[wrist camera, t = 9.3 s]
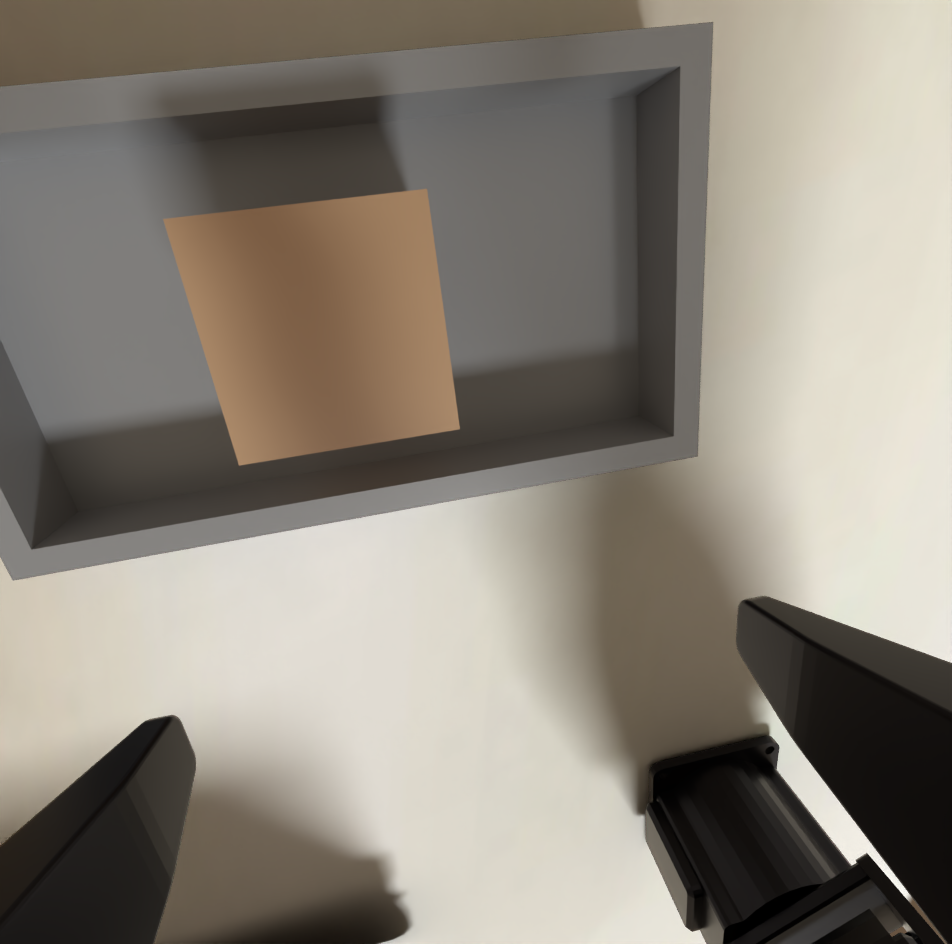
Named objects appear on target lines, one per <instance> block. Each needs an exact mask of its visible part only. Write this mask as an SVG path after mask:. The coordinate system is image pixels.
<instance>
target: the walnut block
mask: <svg viewBox="0 0 952 944" xmlns="http://www.w3.org/2000/svg"><path fill="white" fill-rule="evenodd" d="M163 220H164V224H165V227H166V230H167V233H168V237H169V240H170V243H171V246H172V250H173V253H174V256H175V259H176V263H177V266H178V269H179V272H180V275H181V279H182V282H183V285H184V288H185V292H186V295H187V298H188V301H189V305H190V308H191V311H192V314H193V318H194V321H195V324H196V327H197V331H198V334H199V337H200V340H201V344H202V347H203V350H204V353H205V357H206V360H207V363H208V366H209V370H210V373H211V376H212V379H213V383H214V386H215V389H216V392H217V396H218V399H219V402H220V405H221V409H222V412H223V415H224V418H225V422H226V425H227V428H228V431H229V435H230V438H231V441H232V444H233V448H234V451H235V454H236V457H237V460H238V464H239V466H240V465H246V464H252V463H258V462H264V461H270V460H276V459H282V458H288V457H294V456H300V455H306V454H313V453H319V452H325V451H331V450H337V449H343V448H349V447H355V446H361V445H367V444H373V443H380V442H386V441H392V440H398V439H404V438H410V437H416V436H422V435H428V434H434V433H440V432H446V431H453V430H459V429H460V425H459V418H458V411H457V404H456V396H455V389H454V382H453V374H452V367H451V360H450V352H449V345H448V338H447V331H446V323H445V316H444V309H443V301H442V294H441V287H440V280H439V272H438V265H437V258H436V250H435V243H434V236H433V228H432V221H431V214H430V207H429V199H428V192H427V189H420V190H411V191H403V192H394V193H385V194H377V195H368V196H359V197H351V198H342V199H333V200H324V201H316V202H307V203H298V204H290V205H281V206H272V207H264V208H255V209H246V210H237V211H229V212H220V213H211V214H203V215H194V216H185V217H176V218H168V219H163Z"/></svg>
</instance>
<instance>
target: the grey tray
mask: <svg viewBox="0 0 952 944" xmlns="http://www.w3.org/2000/svg"><path fill="white" fill-rule="evenodd" d="M712 38H713V22H709V23H698V24H687V25H676V26H665V27H654V28H643V29H632V30H621V31H610V32H598V33H587V34H576V35H565V36H554V37H543V38H532V39H521V40H510V41H499V42H488V43H477V44H466V45H455V46H444V47H433V48H422V49H411V50H399V51H388V52H377V53H366V54H355V55H344V56H333V57H322V58H311V59H300V60H289V61H278V62H267V63H256V64H245V65H234V66H223V67H212V68H201V69H189V70H178V71H167V72H156V73H145V74H134V75H123V76H112V77H101V78H90V79H79V80H68V81H57V82H46V83H35V84H24V85H13V86H2V87H0V557H1V559H2V561H3V563H4V565H5V567H6V569H7V571H8V572H9V574H10V576H11V578H12V580H19V579H24V578H30V577H35V576H41V575H46V574H52V573H57V572H63V571H68V570H74V569H79V568H85V567H90V566H96V565H101V564H107V563H112V562H118V561H123V560H129V559H134V558H140V557H146V556H151V555H157V554H162V553H168V552H173V551H179V550H184V549H190V548H195V547H201V546H206V545H212V544H217V543H223V542H228V541H234V540H239V539H245V538H250V537H256V536H261V535H267V534H272V533H278V532H283V531H289V530H294V529H300V528H305V527H311V526H316V525H322V524H328V523H333V522H339V521H344V520H350V519H355V518H361V517H366V516H372V515H377V514H383V513H388V512H394V511H399V510H405V509H410V508H416V507H421V506H427V505H432V504H438V503H443V502H449V501H454V500H460V499H465V498H471V497H476V496H482V495H487V494H493V493H498V492H504V491H510V490H515V489H521V488H526V487H532V486H537V485H543V484H548V483H554V482H559V481H565V480H570V479H576V478H581V477H587V476H592V475H598V474H603V473H609V472H614V471H620V470H625V469H631V468H636V467H642V466H647V465H653V464H658V463H664V462H669V461H675V460H680V459H686V458H692V457H697V456H698V430H699V402H700V374H701V346H702V318H703V290H704V262H705V234H706V206H707V178H708V150H709V122H710V94H711V66H712ZM420 189H427V192H428V199H429V207H430V214H431V221H432V228H433V236H434V243H435V250H436V258H437V265H438V272H439V280H440V287H441V294H442V301H443V309H444V316H445V323H446V331H447V338H448V345H449V352H450V360H451V367H452V374H453V382H454V389H455V396H456V404H457V411H458V418H459V425H460V429H459V430H453V431H446V432H440V433H434V434H428V435H422V436H416V437H410V438H404V439H398V440H392V441H386V442H380V443H373V444H367V445H361V446H355V447H349V448H343V449H337V450H331V451H325V452H319V453H313V454H306V455H300V456H294V457H288V458H282V459H276V460H270V461H264V462H258V463H252V464H246V465H240V466H239V464H238V460H237V457H236V454H235V451H234V448H233V444H232V441H231V438H230V435H229V431H228V428H227V425H226V422H225V418H224V415H223V412H222V409H221V405H220V402H219V399H218V396H217V392H216V389H215V386H214V383H213V379H212V376H211V373H210V370H209V366H208V363H207V360H206V357H205V353H204V350H203V347H202V344H201V340H200V337H199V334H198V331H197V327H196V324H195V321H194V318H193V314H192V311H191V308H190V305H189V301H188V298H187V295H186V292H185V288H184V285H183V282H182V279H181V275H180V272H179V269H178V266H177V263H176V259H175V256H174V253H173V250H172V246H171V243H170V240H169V237H168V233H167V230H166V227H165V224H164V220H163V219H168V218H176V217H185V216H194V215H203V214H211V213H220V212H229V211H237V210H246V209H255V208H264V207H272V206H281V205H290V204H298V203H307V202H316V201H324V200H333V199H342V198H351V197H359V196H368V195H377V194H385V193H394V192H403V191H411V190H420Z"/></svg>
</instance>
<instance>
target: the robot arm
mask: <svg viewBox="0 0 952 944" xmlns="http://www.w3.org/2000/svg"><path fill="white" fill-rule="evenodd" d="M736 644H737V649H738V651H739V654H740V656H741V658H742V659H743V661H744V662H745V664H746V666H747V667H748V669H749V670H750V672H751V674H752V675H753V677H754V679H755V680H756V682H757V683H758V685H759V687H760V688H761V690H762V691H763V693H764V695H765V696H766V698H767V700H768V701H769V703H770V704H771V706H772V708H773V709H774V711H775V712H776V714H777V716H778V717H779V719H780V721H781V722H782V724H783V725H784V727H785V728H786V730H787V731H788V733H789V734H790V736H791V737H792V739H793V740H794V742H795V743H796V745H797V746H798V747H799V749H800V750H801V751H802V753H803V754H804V755H805V757H806V758H807V759H808V761H809V762H810V763H811V765H812V766H813V767H814V769H815V770H816V771H817V773H818V774H819V775H820V777H821V778H822V779H823V781H824V782H825V783H826V784H827V786H828V787H829V788H830V790H831V791H832V792H833V794H834V795H835V796H836V798H837V799H838V800H839V802H840V803H841V804H842V806H843V807H844V808H845V810H846V811H847V812H848V814H849V815H850V816H851V817H852V819H853V820H854V821H855V823H856V824H857V825H858V827H859V828H860V829H861V831H862V832H863V833H864V835H865V836H866V837H867V839H868V840H869V841H870V843H871V844H872V845H873V847H874V848H875V849H876V850H877V852H878V853H879V854H880V856H881V857H882V858H883V860H884V861H885V862H886V864H887V865H888V866H889V868H890V869H891V870H892V872H893V873H894V874H895V876H896V877H897V878H898V879H899V881H900V882H901V883H902V885H903V886H904V887H905V889H906V890H907V891H908V893H909V894H910V895H911V897H912V898H913V899H914V901H915V902H916V903H917V905H918V906H919V907H920V908H921V910H922V911H923V912H924V914H925V915H926V916H927V918H928V919H929V920H930V922H931V923H932V924H933V926H934V927H935V928H936V930H937V931H938V932H939V934H940V935H941V936H942V937H943V939H944V940H945V942H946V943H947V944H952V663H950V662H947V661H945V660H942V659H939V658H936V657H934V656H931V655H928V654H925V653H922V652H920V651H917V650H914V649H911V648H909V647H906V646H903V645H900V644H898V643H895V642H892V641H889V640H886V639H884V638H881V637H878V636H875V635H873V634H870V633H867V632H864V631H862V630H859V629H856V628H853V627H850V626H848V625H845V624H842V623H839V622H837V621H834V620H831V619H828V618H826V617H823V616H820V615H817V614H815V613H812V612H809V611H806V610H803V609H801V608H798V607H795V606H792V605H790V604H787V603H784V602H781V601H779V600H776V599H773V598H770V597H767V596H760V597H755V598H750V599H745V600H743V601H741V602H740V604H739V606H738V615H737V631H736ZM778 753H779V745H778V744H777V743H776V741H775V740H774V739H773V738H772V737H771V736H763V737H759V738H755V739H751V740H747V741H743V742H739V743H734V744H730V745H726V746H722V747H718V748H714V749H710V750H706V751H702V752H697V753H693V754H689V755H685V756H681V757H677V758H673V759H669V760H665V761H660V762H657V763H655V764H654V765H652V767H651V768H650V770H649V803H648V804H647V807H646V842H647V844H648V847H649V849H650V851H651V853H652V855H653V857H654V860H655V862H656V864H657V866H658V868H659V870H660V873H661V875H662V877H663V879H664V881H665V884H666V886H667V888H668V890H669V892H670V894H671V897H672V899H673V901H674V903H675V905H676V908H677V910H678V912H679V914H680V916H681V918H682V921H683V923H684V925H685V927H687V928H688V929H689V930H691V931H692V932H693V931H696V930H700V931H701V933H702V935H703V937H704V939H705V942H706V944H944V943H943V941H942V940H941V939H940V938H939V936H938V935H937V934H936V933H935V932H934V931H933V929H932V928H931V927H930V926H929V925H928V924H927V922H925V920H924V919H923V918H922V917H921V915H920V914H919V913H918V912H917V911H916V910H915V908H914V907H913V906H912V905H911V904H910V903H909V901H908V900H907V899H906V898H905V897H904V896H903V894H902V893H901V892H900V891H899V890H898V889H897V887H896V886H895V885H894V884H893V883H892V882H891V880H890V879H889V878H888V877H887V876H886V875H885V873H884V872H883V871H882V870H881V869H880V868H879V866H878V865H877V864H876V863H875V862H874V861H873V859H872V858H871V857H870V856H869V855H868V854H867V853H866V854H864V855H863V856H861V857H860V858H858V859H856V862H857V863H856V864H854V865H853V866H852V865H851V864H850V863H849V862H848V860H847V859H846V858H845V857H844V855H843V854H842V853H841V851H840V850H839V849H838V848H837V846H836V845H835V844H834V843H833V841H832V840H831V839H830V837H829V836H828V835H827V834H826V832H825V831H824V830H823V828H822V827H821V826H820V825H819V823H818V822H817V821H816V820H815V818H814V817H813V816H812V814H811V813H810V812H809V811H808V809H807V808H806V807H805V805H804V804H803V803H802V802H801V800H800V799H799V798H798V797H797V795H796V794H795V793H794V791H793V790H792V789H791V788H790V786H789V785H788V784H787V782H786V781H785V780H784V779H783V777H782V776H781V775H780V774H779V772H778V771H777V770H776V769H777V761H778ZM195 771H196V758H195V754H194V751H193V749H192V746H191V744H190V741H189V739H188V737H187V734H186V732H185V729H184V727H183V725H182V722H181V720H180V719H179V718H178V717H177V716H175V715H168V716H163V717H158V718H153V719H149V720H147V721H145V722H143V723H142V724H141V725H140V726H138V727H137V728H136V729H135V730H134V731H133V732H132V733H130V734H129V735H128V736H127V737H126V738H125V739H123V740H122V741H121V742H120V743H119V744H118V745H117V746H115V747H114V748H113V749H112V750H111V751H110V752H108V753H107V754H106V755H105V756H104V757H103V758H101V759H100V760H99V761H98V762H97V763H96V764H95V765H93V766H92V767H91V768H90V769H89V770H88V771H86V772H85V773H84V774H83V775H82V776H81V777H79V778H78V779H77V780H76V781H75V782H74V783H73V784H71V785H70V786H69V787H68V788H67V789H66V790H64V791H63V792H62V793H61V794H60V795H59V796H57V797H56V798H55V799H54V800H53V801H52V802H51V803H49V804H48V805H47V806H46V807H45V808H44V809H42V810H41V811H40V812H39V813H38V814H37V815H35V816H34V817H33V818H32V819H31V820H30V821H29V822H27V823H26V824H25V825H24V826H23V827H22V828H20V829H19V830H18V831H17V832H16V833H15V834H13V835H12V836H11V837H10V838H9V839H8V840H6V841H5V842H4V843H3V844H2V845H1V846H0V944H154V942H155V939H156V936H157V932H158V929H159V926H160V922H161V919H162V916H163V913H164V909H165V906H166V903H167V899H168V896H169V892H170V889H171V885H172V882H173V877H174V873H175V869H176V864H177V860H178V855H179V850H180V845H181V840H182V835H183V830H184V825H185V820H186V815H187V810H188V806H189V801H190V796H191V791H192V786H193V781H194V776H195ZM902 926H903V927H904V928H905V930H906V931H907V933H905V934H903V933H898V934H897V935H895V936H893V937H891V936H890V933H891V932H893V931H895V930H897V929H898V928H900V927H902Z"/></svg>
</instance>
